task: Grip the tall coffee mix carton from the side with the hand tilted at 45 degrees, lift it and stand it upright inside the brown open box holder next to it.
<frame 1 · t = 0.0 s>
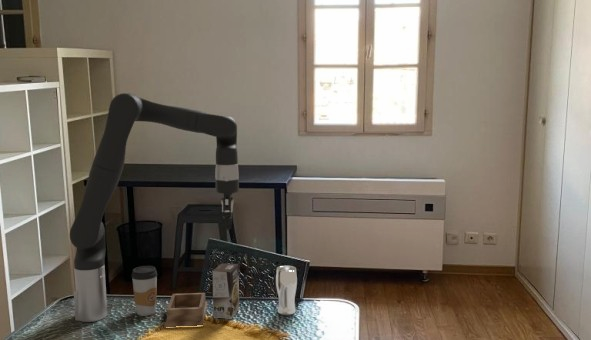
hand: (228, 226, 181), 29 cm above the table, tool pointing down, fingers open, 8 cm apart
brown open box holder: (187, 315, 182), on the table
beer glass: (286, 312, 185), on the table
coffee cup: (146, 313, 185), on the table
coffee box: (226, 314, 183), on the table
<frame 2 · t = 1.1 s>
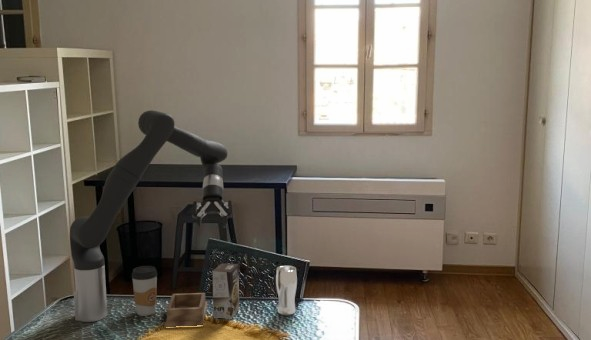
hand: (212, 227, 195), 26 cm above the table, tool tilted 45°, fingers open, 8 cm apart
nothing on the table moved.
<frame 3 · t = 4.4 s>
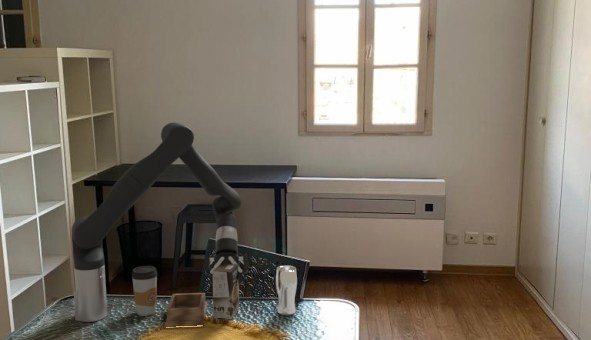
hand: (226, 285, 181), 10 cm above the table, tool tilted 45°, fingers open, 8 cm apart
coffee box: (226, 314, 183), on the table, touching gripper
everything else where it was.
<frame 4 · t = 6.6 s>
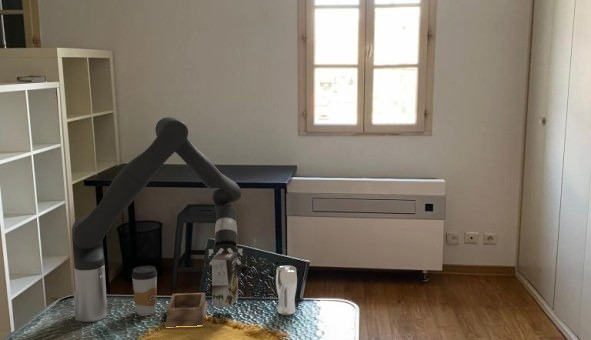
hand: (225, 277, 180), 13 cm above the table, tool tilted 45°, fingers closed on coffee box, 8 cm apart
coffee box: (225, 303, 183), point 4 cm above the table, touching gripper
everything else where it was.
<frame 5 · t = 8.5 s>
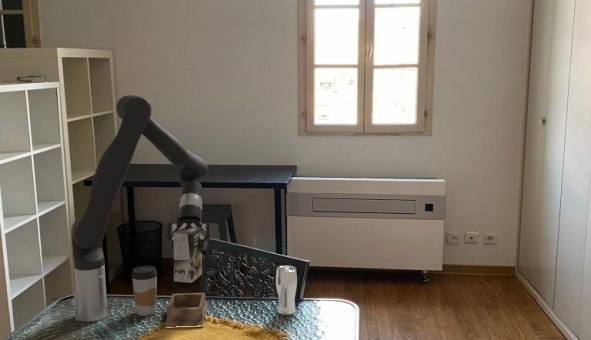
hand: (187, 251, 178), 22 cm above the table, tool tilted 45°, fingers closed on coffee box, 8 cm apart
coffee box: (188, 278, 180), point 13 cm above the table, touching gripper
everything else where it was.
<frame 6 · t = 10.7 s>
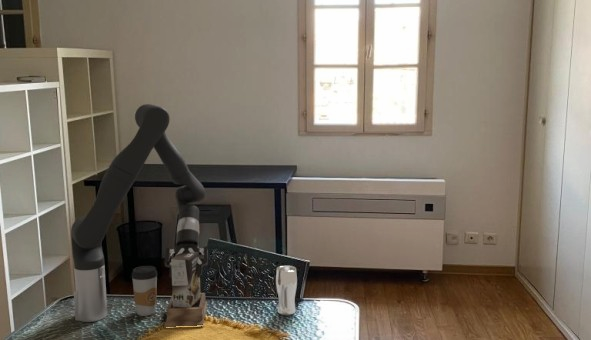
hand: (185, 277, 179), 14 cm above the table, tool tilted 45°, fingers closed on coffee box, 8 cm apart
coffee box: (187, 303, 182), point 4 cm above the table, touching gripper
everything else where it was.
when the fingers open (11 cm above the table, at t = 12.0 s): coffee box drops 1 cm, resting on brown open box holder.
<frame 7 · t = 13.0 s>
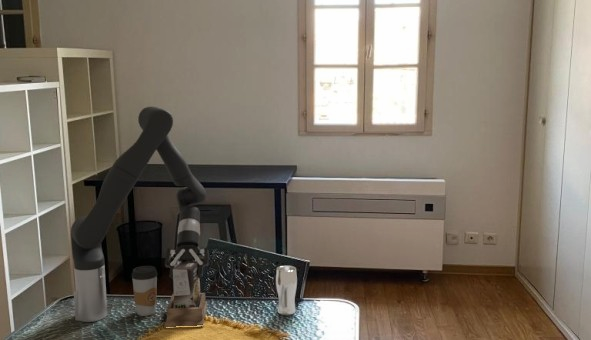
hand: (186, 277, 180), 13 cm above the table, tool tilted 45°, fingers open, 8 cm apart
coffee box: (188, 312, 182), point 1 cm above the table, touching brown open box holder
everything else where it was.
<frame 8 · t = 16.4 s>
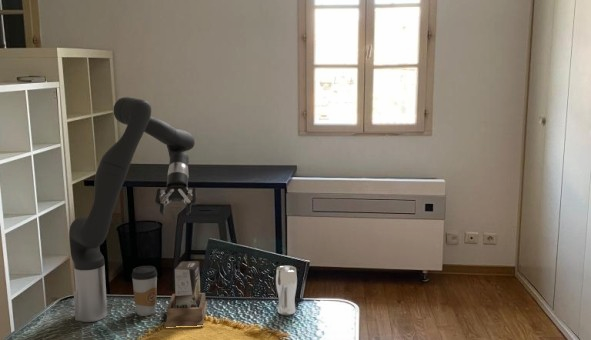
hand: (175, 214, 194), 31 cm above the table, tool tilted 45°, fingers open, 8 cm apart
nothing on the table moved.
at the end: coffee box 0.7 cm off-centre on the brown open box holder, point 0.8 cm above the brown open box holder's base; coffee box tilted 0°; the gripper is holding nothing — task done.
